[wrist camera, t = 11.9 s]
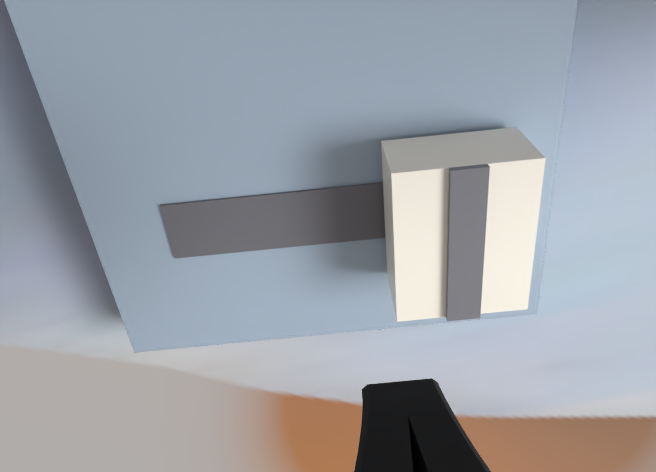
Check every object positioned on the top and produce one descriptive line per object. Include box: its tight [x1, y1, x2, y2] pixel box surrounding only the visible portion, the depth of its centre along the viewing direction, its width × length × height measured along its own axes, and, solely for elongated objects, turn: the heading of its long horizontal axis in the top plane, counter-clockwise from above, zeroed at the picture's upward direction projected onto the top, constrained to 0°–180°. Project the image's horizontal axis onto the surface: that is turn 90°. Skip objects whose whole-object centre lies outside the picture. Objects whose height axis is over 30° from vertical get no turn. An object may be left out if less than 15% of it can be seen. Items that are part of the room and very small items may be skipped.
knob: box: [381, 127, 546, 322], centre depth 16 cm, size 4×5×2 cm
